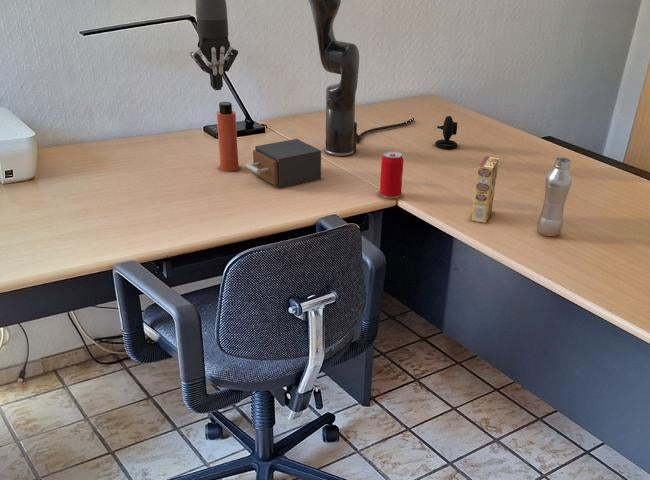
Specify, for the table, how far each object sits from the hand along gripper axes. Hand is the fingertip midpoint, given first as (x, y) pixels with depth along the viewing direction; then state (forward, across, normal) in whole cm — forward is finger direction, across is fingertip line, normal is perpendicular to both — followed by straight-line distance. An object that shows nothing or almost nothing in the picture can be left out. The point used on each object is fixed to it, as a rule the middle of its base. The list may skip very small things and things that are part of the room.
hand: (217, 89), depth 188 cm
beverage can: (+27, +38, -28) cm, 54 cm away
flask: (+27, +10, +14) cm, 32 cm away
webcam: (+27, +84, -3) cm, 88 cm away
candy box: (+27, +50, -53) cm, 78 cm away
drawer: (+26, +17, -1) cm, 31 cm away
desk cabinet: (+27, +21, -1) cm, 34 cm away
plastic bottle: (+27, +57, -71) cm, 95 cm away
